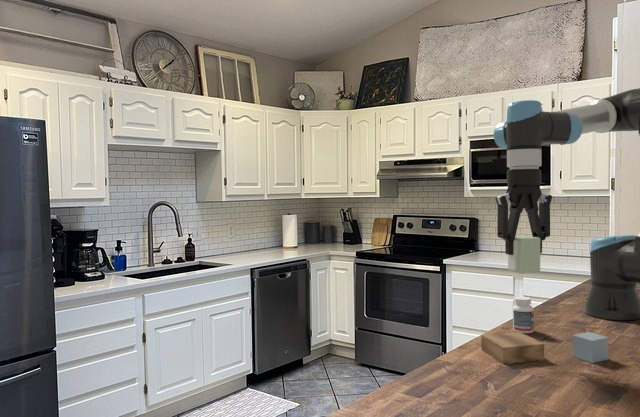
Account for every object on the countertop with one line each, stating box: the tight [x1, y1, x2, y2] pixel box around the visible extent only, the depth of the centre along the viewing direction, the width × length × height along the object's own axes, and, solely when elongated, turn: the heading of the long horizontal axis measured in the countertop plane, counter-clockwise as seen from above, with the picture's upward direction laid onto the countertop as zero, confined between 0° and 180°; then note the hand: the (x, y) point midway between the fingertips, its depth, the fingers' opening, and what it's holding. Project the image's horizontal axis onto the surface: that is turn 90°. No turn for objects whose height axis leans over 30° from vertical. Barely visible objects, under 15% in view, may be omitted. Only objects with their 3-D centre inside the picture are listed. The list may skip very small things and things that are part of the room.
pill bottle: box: [512, 296, 535, 334], centre depth 141 cm, size 5×5×9 cm
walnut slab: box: [480, 331, 545, 365], centre depth 123 cm, size 10×10×4 cm
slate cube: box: [572, 331, 609, 364], centre depth 119 cm, size 5×5×5 cm
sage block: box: [507, 235, 541, 274], centre depth 123 cm, size 5×5×8 cm
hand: (523, 268), depth 124 cm, fingers closed on sage block, 5 cm apart
